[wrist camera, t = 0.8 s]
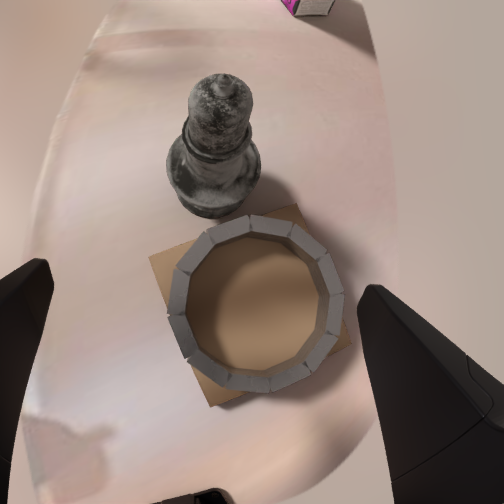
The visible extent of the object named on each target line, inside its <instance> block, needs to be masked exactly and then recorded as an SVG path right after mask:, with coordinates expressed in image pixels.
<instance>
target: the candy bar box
mask: <svg viewBox="0 0 504 504" xmlns="http://www.w3.org/2000/svg"><path fill="white" fill-rule="evenodd" d="M281 1H282V2H283V4H284V5H285V6H286V7H287V9H288V10H289V11H290V13H291V14H292V15H293V16H313V15H318V16H322V15H328V14H329V12H330V10H331V8H332V6H333V3H334V2H335V0H281Z"/></svg>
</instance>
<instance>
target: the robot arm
mask: <svg viewBox="0 0 504 504" xmlns="http://www.w3.org/2000/svg"><path fill="white" fill-rule="evenodd" d="M53 291H54V281H53V277H52V274H51V270H50V267H49V263H48V261H47V260H45V259H40V258H34V259H32V260H30V261H29V262H27V263H25V264H24V265H22V266H21V267H19V268H17V269H16V270H14V271H13V272H11V273H10V274H8V275H7V276H5V277H4V278H2V279H1V280H0V504H7V499H8V488H9V478H10V470H11V461H12V454H13V448H14V442H15V437H16V431H17V426H18V421H19V417H20V412H21V408H22V403H23V399H24V395H25V391H26V387H27V384H28V380H29V376H30V373H31V369H32V366H33V363H34V359H35V356H36V353H37V350H38V347H39V344H40V340H41V337H42V334H43V330H44V326H45V322H46V317H47V313H48V310H49V306H50V302H51V298H52V295H53ZM357 316H358V322H359V328H360V334H361V340H362V347H363V353H364V358H365V362H366V366H367V370H368V374H369V378H370V382H371V386H372V391H373V395H374V399H375V403H376V408H377V412H378V417H379V421H380V426H381V431H382V435H383V440H384V445H385V450H386V456H387V461H388V466H389V472H390V477H391V482H392V483H391V484H392V491H393V497H394V504H504V385H503V384H502V383H501V382H500V381H498V380H497V379H495V378H494V377H493V376H492V375H491V374H489V373H488V372H487V371H486V370H484V369H483V368H482V367H481V366H480V365H478V364H477V363H476V362H475V361H474V360H473V359H472V358H470V357H469V356H468V355H466V354H465V352H463V351H462V350H461V349H460V348H459V347H457V346H456V345H455V344H454V343H453V342H451V341H450V340H449V339H448V338H447V337H446V336H444V335H443V334H442V333H441V332H440V331H438V330H437V329H436V328H435V327H433V326H432V325H431V324H430V323H429V322H427V321H426V320H425V319H424V318H423V317H421V316H420V315H419V314H418V313H416V312H415V311H414V310H413V309H411V308H410V307H409V306H407V305H406V304H405V303H404V302H402V301H401V300H400V299H399V298H398V297H396V296H395V295H394V294H392V293H391V292H390V291H389V290H387V289H386V288H385V287H384V286H382V285H378V284H370V285H368V286H367V287H366V288H365V291H364V293H363V295H362V297H361V299H360V301H359V303H358V306H357ZM213 493H217V495H213ZM152 504H229V503H228V502H227V500H226V498H225V497H224V495H223V494H222V492H221V491H220V490H219V489H217V488H211V489H208V490H205V491H201V492H198V493H194V494H187V495H183V496H179V497H175V498H171V499H167V500H163V501H162V502H157V503H152Z"/></svg>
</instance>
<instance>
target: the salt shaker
mask: <svg viewBox="0 0 504 504" xmlns="http://www.w3.org/2000/svg"><path fill="white" fill-rule="evenodd" d="M252 107H253V98H252V93H251V91H250V89H249V87H248V86H247V85H246V84H245V82H243V81H242V80H240V79H239V78H237V77H235V76H232V75H229V74H214V75H210V76H208V77H206V78H204V79H202V80H200V81H199V82H198V83H197V84H196V85H195V86H194V87H193V89H192V91H191V93H190V96H189V99H188V109H189V116H188V118H187V119H186V121H185V122H184V125H183V129H182V134H181V135H180V136H179V137H178V138H177V139H176V140H175V141H174V143H173V145H172V146H171V148H170V149H169V153H168V156H167V160H166V166H167V175H168V178H169V181H170V184H171V185H172V187H173V188H174V189H175V191H176V193H177V196H178V199H179V200H180V202H181V203H182V205H183V206H184V207H185V208H186V209H188V210H189V211H190V212H191V213H193V214H196V215H198V216H200V217H205V218H220V217H223V216H226V215H229V214H230V213H232V212H233V211H235V210H236V209H237V208H238V207H239V206H240V205H241V204H242V203H243V201H244V199H245V197H247V195H248V194H249V193H250V192H251V191H252V190H253V189H254V187H255V185H256V183H257V181H258V179H259V176H260V170H261V160H260V154H259V152H258V150H257V147H256V145H255V144H254V143H253V141H252V140H251V138H252V128H251V125H250V122H249V118H250V115H251V111H252Z"/></svg>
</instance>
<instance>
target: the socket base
mask: <svg viewBox="0 0 504 504" xmlns="http://www.w3.org/2000/svg"><path fill="white" fill-rule="evenodd" d="M326 251H327V249H326V248H324V247H323V246H322V245H321V244H320V243H319V242H317V241H316V240H315V239H314V238H313V237H311V236H310V234H309V231H308V229H307V227H306V224H305V222H304V219H303V217H302V215H301V212H300V210H299V208H298V205H297V203H295V204H293V205H290V206H287V207H284V208H281V209H278V210H275V211H272V212H270V213H267V214H264V215H261V216H257V215H252V214H251V215H250V217H248V215H245V216H242V217H239V218H237V219H234V220H231V221H228V222H225V223H223V224H220V225H217V226H214V227H212V228H209V229H207V232H206V233H205V232H203V233H202V234H201V235H200V236H199V238H197V239H195V240H192V241H189V242H187V243H184V244H181V245H179V246H176V247H173V248H171V249H168V250H165V251H163V252H160V253H157V254H155V255H152V256H150V257H149V260H150V263H151V266H152V269H153V271H154V274H155V277H156V280H157V282H158V285H159V288H160V291H161V293H162V296H163V299H164V301H165V304H166V306H167V309H168V310H167V314H170V316H169V317H168V320H169V322H170V325H171V327H172V330H173V332H174V335H175V337H176V340H177V342H178V344H179V347H180V349H181V352H182V354H183V356H184V359H186V358H188V359H187V362H188V363H189V364H190V365H191V367H192V369H193V371H194V374H195V376H196V378H197V380H198V382H199V385H200V387H201V389H202V391H203V393H204V395H205V398H206V400H207V402H208V404H209V406H210V407H213V406H215V405H218V404H221V403H223V402H226V401H229V400H231V399H234V398H236V397H239V396H241V395H244V394H246V393H249V392H260V393H269V392H270V390H271V391H272V392H275V391H277V390H280V389H282V388H284V387H286V386H288V385H291V384H293V383H295V382H297V381H299V380H301V379H303V378H306V377H308V376H310V375H311V373H310V371H312V372H315V370H316V369H317V368H318V366H319V365H320V364H321V362H322V361H323V360H324V358H325V357H327V356H329V355H331V354H333V353H335V352H337V351H339V350H341V349H343V348H345V347H347V346H349V345H351V344H352V343H351V340H350V337H349V334H348V332H347V329H346V326H345V323H344V321H343V318H342V314H343V306H344V297H345V294H340V293H342V292H344V289H343V286H342V284H341V281H340V278H339V276H338V273H337V271H336V268H335V266H334V263H333V261H332V258H331V256H330V253H327V254H325V253H326ZM324 254H325V255H324Z"/></svg>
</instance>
